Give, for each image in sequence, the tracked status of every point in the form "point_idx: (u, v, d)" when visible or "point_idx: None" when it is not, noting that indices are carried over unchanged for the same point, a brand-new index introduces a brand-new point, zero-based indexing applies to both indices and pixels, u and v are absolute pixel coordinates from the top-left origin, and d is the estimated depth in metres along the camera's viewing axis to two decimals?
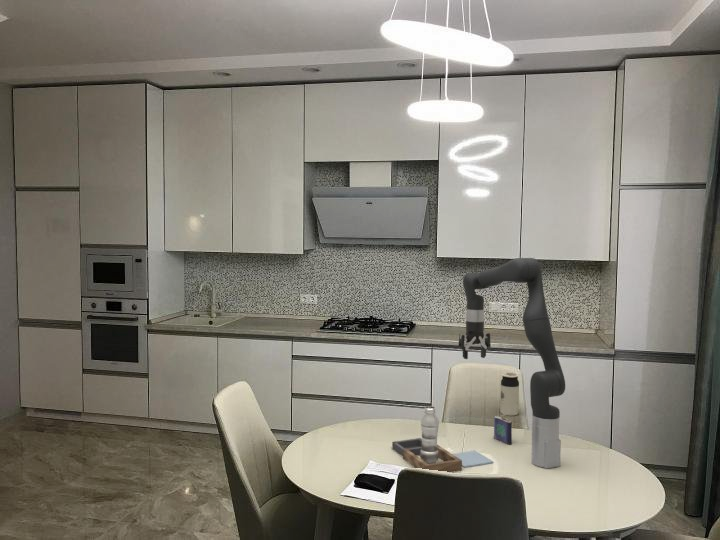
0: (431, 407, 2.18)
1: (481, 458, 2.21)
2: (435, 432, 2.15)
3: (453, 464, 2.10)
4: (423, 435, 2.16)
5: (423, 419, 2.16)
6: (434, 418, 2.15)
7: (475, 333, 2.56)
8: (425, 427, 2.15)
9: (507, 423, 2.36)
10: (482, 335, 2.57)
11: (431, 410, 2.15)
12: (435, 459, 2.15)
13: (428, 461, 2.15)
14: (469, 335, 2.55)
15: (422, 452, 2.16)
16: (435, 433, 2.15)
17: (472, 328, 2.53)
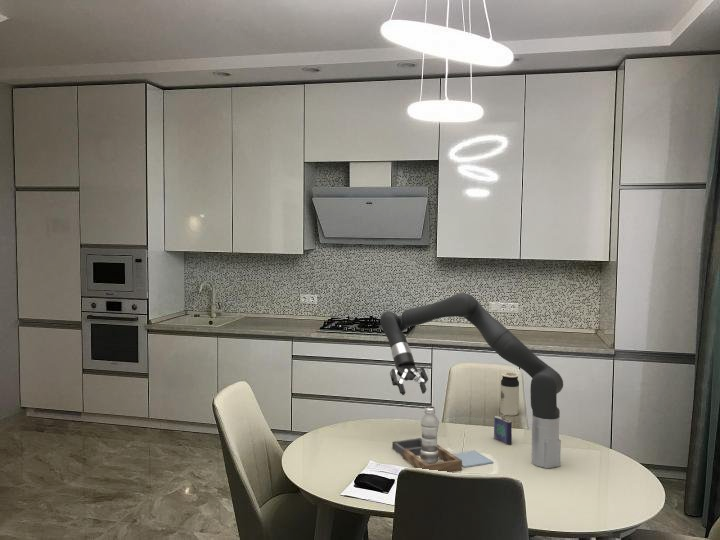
0: (431, 407, 2.18)
1: (481, 458, 2.21)
2: (435, 432, 2.15)
3: (453, 464, 2.10)
4: (423, 435, 2.16)
5: (423, 419, 2.16)
6: (434, 418, 2.15)
7: (406, 367, 2.36)
8: (425, 427, 2.15)
9: (507, 423, 2.36)
10: (415, 369, 2.36)
11: (431, 410, 2.15)
12: (435, 459, 2.15)
13: (428, 461, 2.15)
14: (400, 369, 2.34)
15: (422, 452, 2.16)
16: (435, 433, 2.15)
17: (400, 360, 2.35)
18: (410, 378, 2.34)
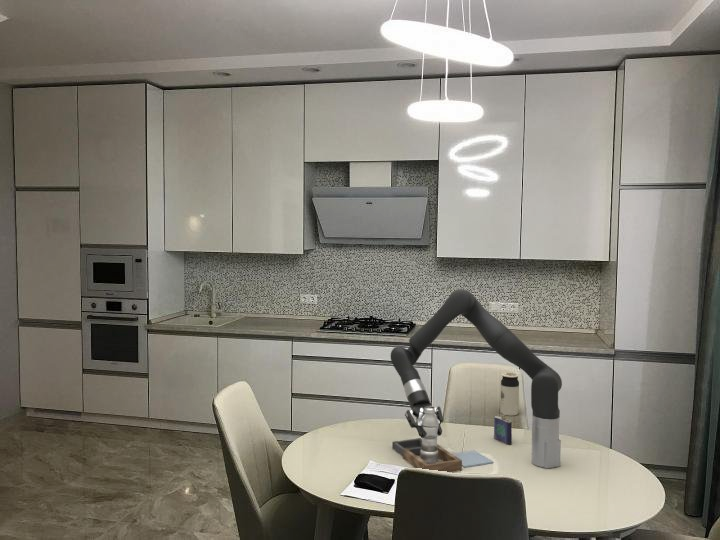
0: (431, 407, 2.18)
1: (481, 458, 2.21)
2: (435, 432, 2.15)
3: (453, 464, 2.10)
4: None
5: (423, 419, 2.16)
6: (434, 418, 2.15)
7: (421, 406, 2.22)
8: (425, 427, 2.15)
9: (507, 423, 2.36)
10: None
11: (431, 410, 2.15)
12: (435, 459, 2.15)
13: (428, 461, 2.15)
14: (415, 408, 2.20)
15: (422, 452, 2.16)
16: (435, 433, 2.15)
17: (415, 398, 2.21)
18: None
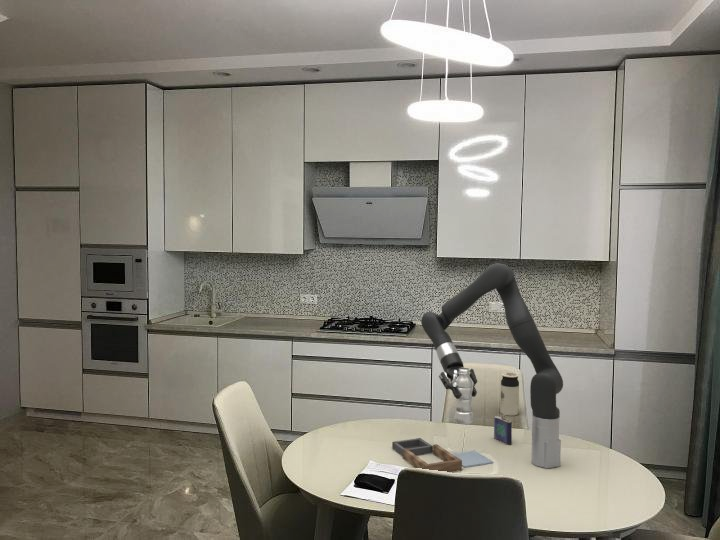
0: (465, 368, 2.20)
1: (481, 458, 2.21)
2: (470, 393, 2.16)
3: (453, 464, 2.10)
4: None
5: (458, 380, 2.17)
6: (469, 379, 2.16)
7: (455, 368, 2.23)
8: (460, 387, 2.16)
9: (507, 423, 2.36)
10: None
11: (466, 371, 2.17)
12: (470, 420, 2.17)
13: (463, 422, 2.16)
14: (449, 370, 2.22)
15: (457, 413, 2.18)
16: (470, 394, 2.16)
17: (448, 361, 2.23)
18: None
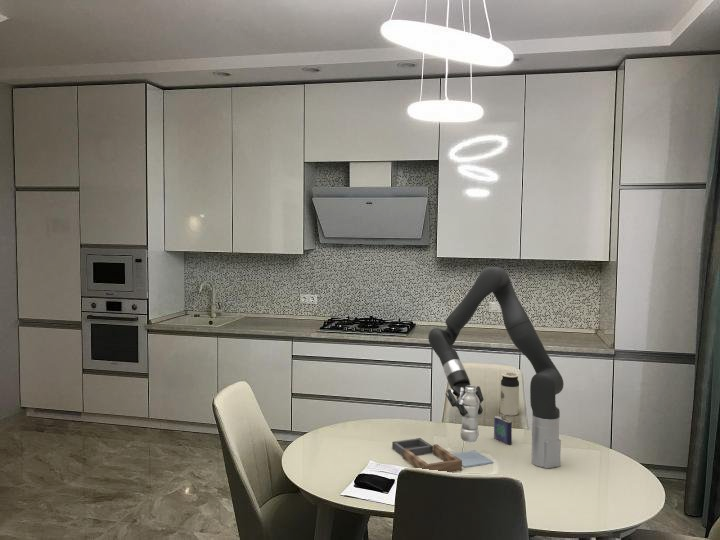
0: (471, 386, 2.21)
1: (481, 458, 2.21)
2: (476, 411, 2.18)
3: (453, 464, 2.10)
4: None
5: (464, 398, 2.19)
6: (475, 397, 2.18)
7: (461, 385, 2.24)
8: (466, 405, 2.17)
9: (507, 423, 2.36)
10: None
11: (472, 389, 2.18)
12: (476, 437, 2.18)
13: (469, 439, 2.18)
14: (455, 388, 2.23)
15: (463, 430, 2.19)
16: (476, 412, 2.18)
17: (455, 378, 2.24)
18: None
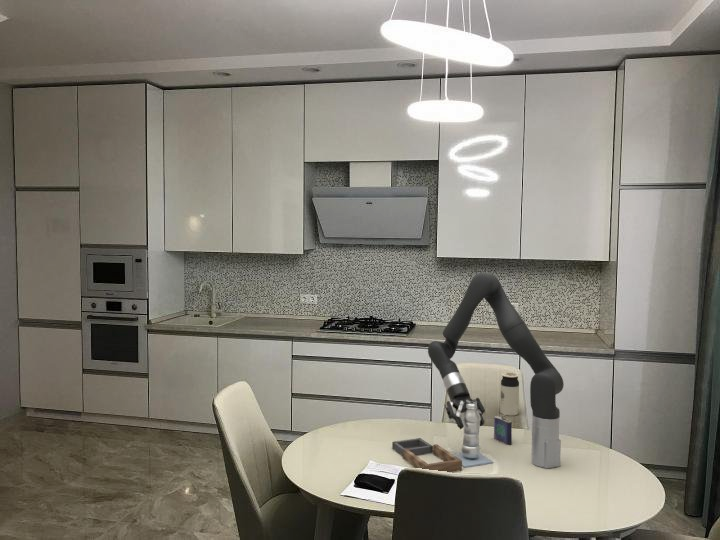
0: (472, 403, 2.22)
1: (481, 458, 2.21)
2: (477, 427, 2.18)
3: (453, 464, 2.10)
4: (465, 430, 2.19)
5: (465, 415, 2.19)
6: (476, 414, 2.18)
7: (461, 398, 2.25)
8: (467, 422, 2.18)
9: (507, 423, 2.36)
10: (470, 400, 2.25)
11: (473, 406, 2.19)
12: (477, 454, 2.19)
13: (470, 456, 2.18)
14: (455, 401, 2.23)
15: (464, 447, 2.20)
16: (477, 428, 2.18)
17: (455, 391, 2.24)
18: None
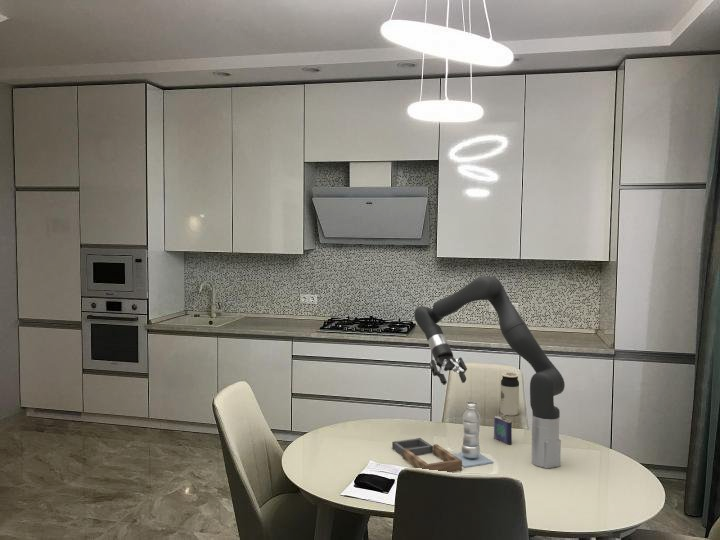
0: (473, 403, 2.22)
1: (481, 458, 2.21)
2: (477, 427, 2.18)
3: (453, 464, 2.10)
4: (465, 430, 2.19)
5: (465, 415, 2.19)
6: (476, 414, 2.18)
7: (445, 358, 2.41)
8: (467, 422, 2.18)
9: (507, 423, 2.36)
10: (453, 359, 2.41)
11: (473, 406, 2.19)
12: (477, 454, 2.19)
13: (470, 456, 2.18)
14: (439, 360, 2.39)
15: (464, 447, 2.20)
16: (477, 428, 2.18)
17: (439, 351, 2.40)
18: (449, 368, 2.39)
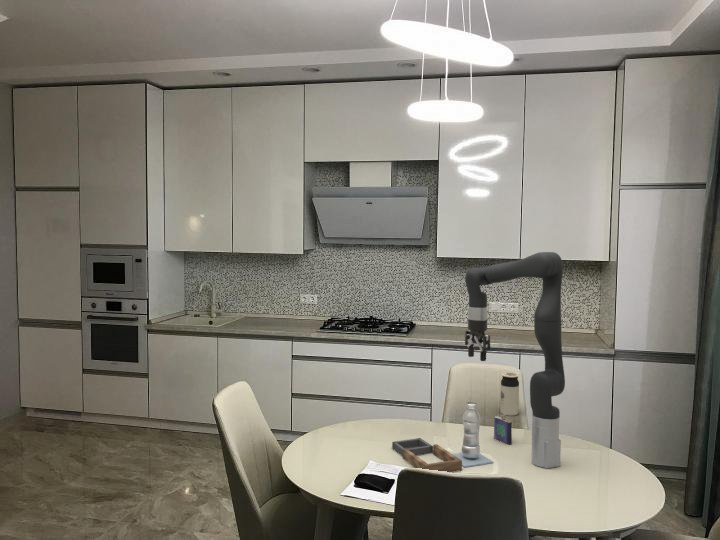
0: (473, 403, 2.22)
1: (481, 458, 2.21)
2: (477, 427, 2.18)
3: (453, 464, 2.10)
4: (465, 430, 2.19)
5: (465, 415, 2.19)
6: (476, 414, 2.18)
7: (474, 332, 2.42)
8: (467, 422, 2.18)
9: (507, 423, 2.36)
10: (479, 336, 2.38)
11: (473, 406, 2.19)
12: (477, 454, 2.19)
13: (470, 456, 2.18)
14: (470, 332, 2.44)
15: (464, 447, 2.20)
16: (477, 428, 2.18)
17: None
18: None
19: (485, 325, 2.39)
